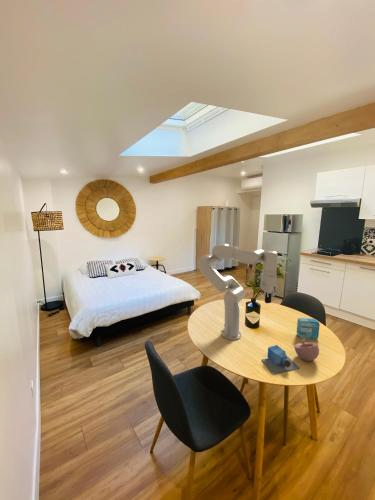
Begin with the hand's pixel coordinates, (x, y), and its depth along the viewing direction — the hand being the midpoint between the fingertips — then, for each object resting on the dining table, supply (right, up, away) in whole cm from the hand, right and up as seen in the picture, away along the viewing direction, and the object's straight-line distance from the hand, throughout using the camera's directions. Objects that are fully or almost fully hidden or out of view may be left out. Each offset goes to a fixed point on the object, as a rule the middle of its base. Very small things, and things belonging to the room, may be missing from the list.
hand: (267, 302), depth 132 cm
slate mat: (+3, -31, -10) cm, 33 cm away
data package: (+32, -26, +16) cm, 44 cm away
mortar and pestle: (+20, -31, -5) cm, 37 cm away
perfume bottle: (+1, -27, -4) cm, 27 cm away
